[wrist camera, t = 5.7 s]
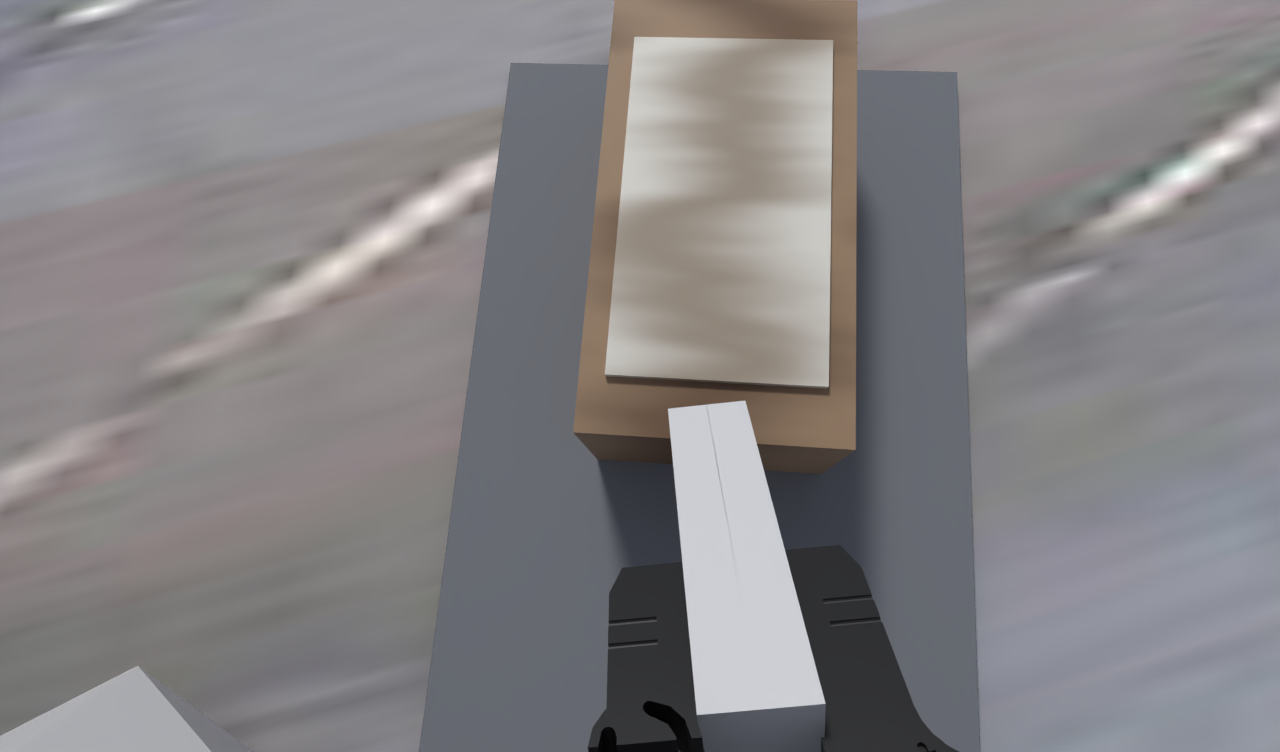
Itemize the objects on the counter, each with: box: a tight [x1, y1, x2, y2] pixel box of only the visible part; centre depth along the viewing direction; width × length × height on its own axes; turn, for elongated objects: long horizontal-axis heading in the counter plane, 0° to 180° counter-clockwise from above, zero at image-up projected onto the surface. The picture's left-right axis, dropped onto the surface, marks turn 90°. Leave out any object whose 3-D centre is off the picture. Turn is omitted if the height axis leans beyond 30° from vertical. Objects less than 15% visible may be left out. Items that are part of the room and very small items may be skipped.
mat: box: [419, 63, 980, 752], centre depth 24 cm, size 16×24×1 cm, turn 176°
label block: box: [573, 0, 857, 474], centre depth 22 cm, size 7×5×13 cm
